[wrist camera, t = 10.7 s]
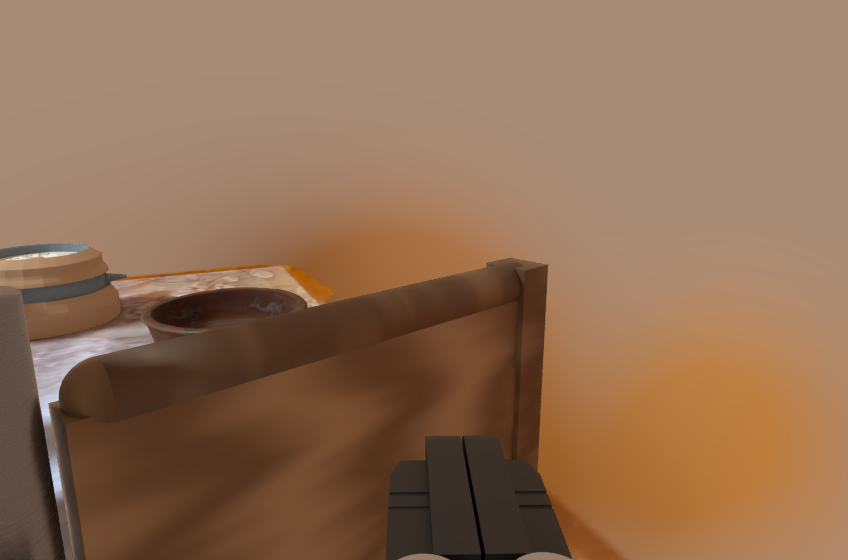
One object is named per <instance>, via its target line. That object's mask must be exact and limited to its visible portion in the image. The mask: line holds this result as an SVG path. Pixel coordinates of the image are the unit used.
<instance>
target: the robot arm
mask: <svg viewBox="0 0 848 560" xmlns="http://www.w3.org/2000/svg"><path fill="white" fill-rule="evenodd" d="M386 560H572V557H571V554H570V552H569V549H568V547H567V544H566V541H565V539H564V536H563V534H562V531H561V528H560V526H559V523H558V520H557V518H556V515H555V513H554V510H553V509H552V505H551V502H550V500H549V497H548V494H546V489H545V487H544V484H543V481H542V479H541V476H540V474H539V473H538V472H537V471H536V470H535V469H534V468H533V467H532V466H530V465H529V464H528V463H527V462H526V461H525V460H505V458H504V455H503V451H502V448H501V445H500V441H499V438H498V436H497V435H474V436H462V442H461V437H460V436H426V439H425V460H408V461H400V462H399V464H398V465H397V466H396V468H395V469H394V470H393V472H392V473H391V474H390V481H389V502H388V524H387V545H386Z"/></svg>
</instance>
